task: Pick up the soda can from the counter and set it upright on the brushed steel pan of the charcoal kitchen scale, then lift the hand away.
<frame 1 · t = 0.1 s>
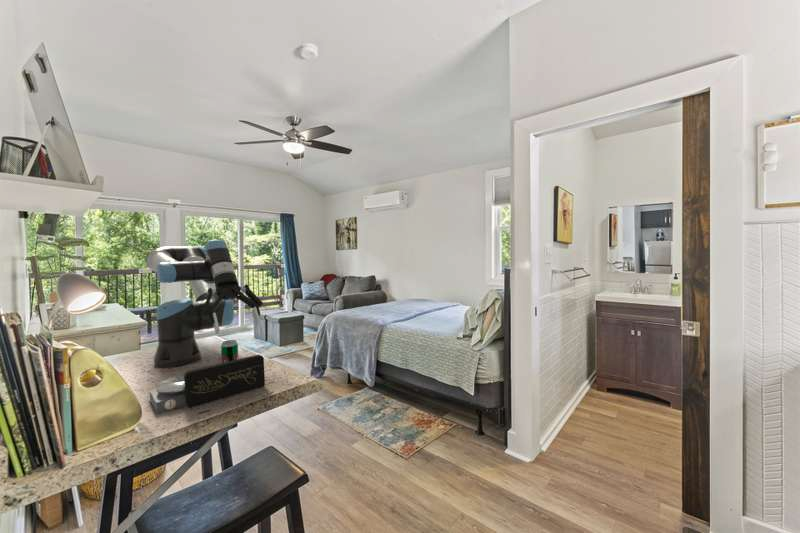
hand: (239, 328, 118), 15 cm above the counter, tool tilted 35°, fingers open, 13 cm apart
scale base: (180, 398, 98), on the counter
soda can: (231, 377, 114), on the counter
scale pan: (179, 384, 98), point 4 cm above the counter, slide at -0.5 cm
nameplate: (228, 396, 100), on the counter
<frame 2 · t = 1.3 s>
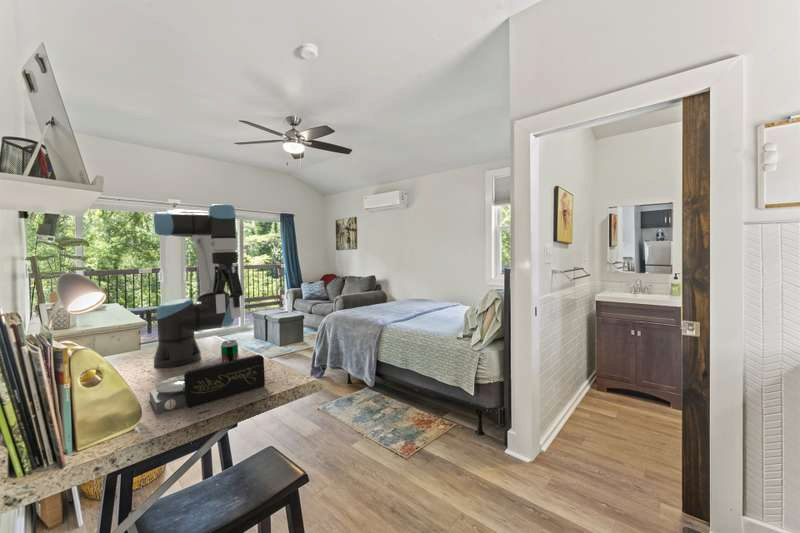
hand: (228, 315, 113), 21 cm above the counter, tool pointing down, fingers open, 13 cm apart
nothing on the counter moved.
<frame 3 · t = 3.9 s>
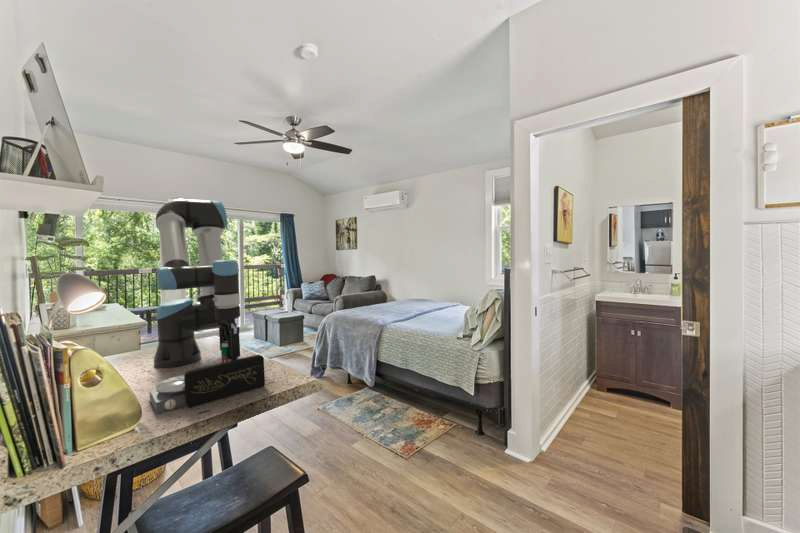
hand: (231, 374, 114), 1 cm above the counter, tool pointing down, fingers closed on soda can, 5 cm apart
soda can: (231, 377, 114), on the counter, touching gripper
everything else where it was.
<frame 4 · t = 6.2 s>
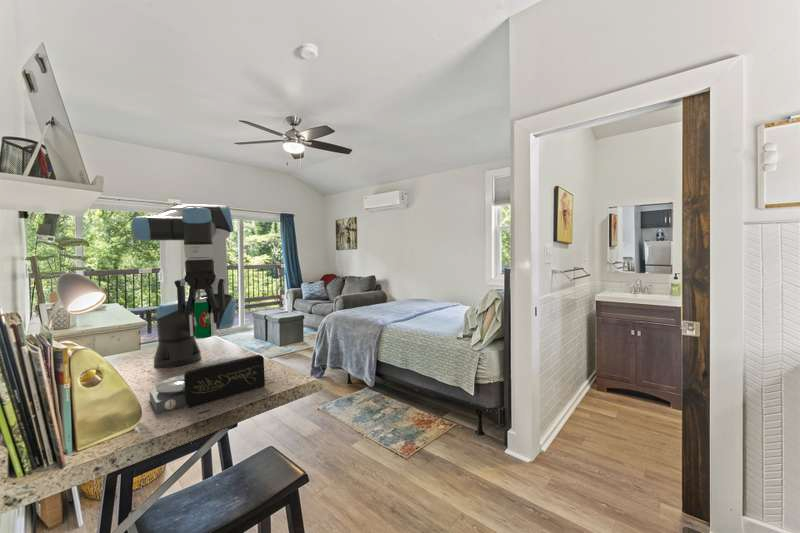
hand: (203, 334, 104), 17 cm above the counter, tool pointing down, fingers closed on soda can, 5 cm apart
soda can: (204, 337, 104), point 16 cm above the counter, touching gripper
everything else where it was.
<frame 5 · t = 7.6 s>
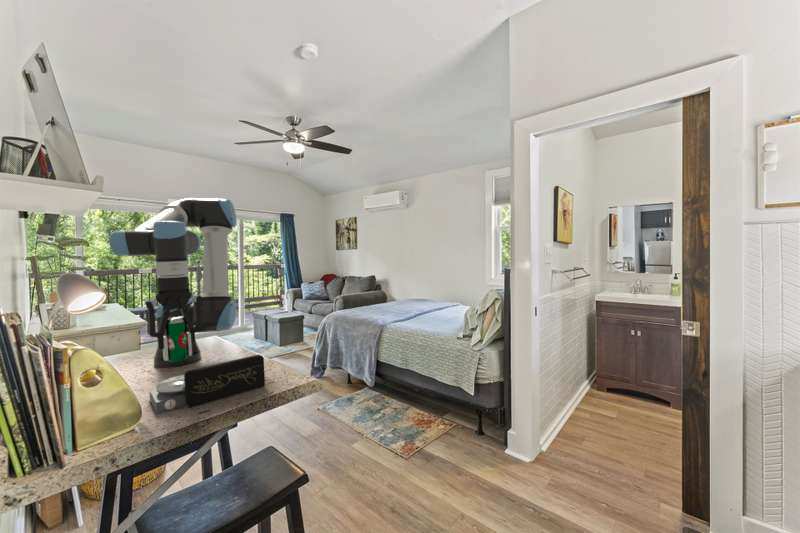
hand: (177, 356, 97), 13 cm above the counter, tool pointing down, fingers closed on soda can, 5 cm apart
soda can: (178, 360, 97), point 12 cm above the counter, touching gripper
everything else where it was.
when the fingers open (8 cm above the counter, at t = 8.7 s): soda can drops 2 cm, resting on scale pan.
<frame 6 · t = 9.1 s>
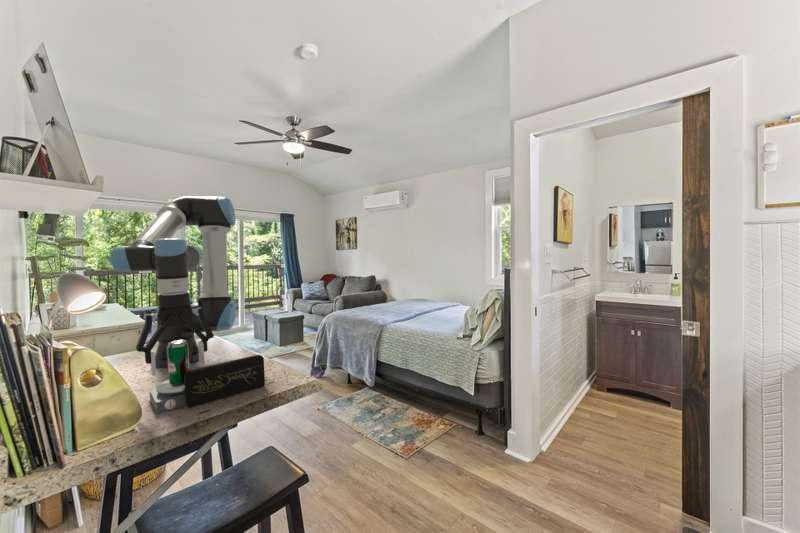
hand: (178, 368, 98), 9 cm above the counter, tool pointing down, fingers open, 11 cm apart
soda can: (179, 383, 98), point 5 cm above the counter, touching scale pan
scale pan: (179, 385, 98), point 4 cm above the counter, slide at -0.8 cm, touching soda can
everything else where it was.
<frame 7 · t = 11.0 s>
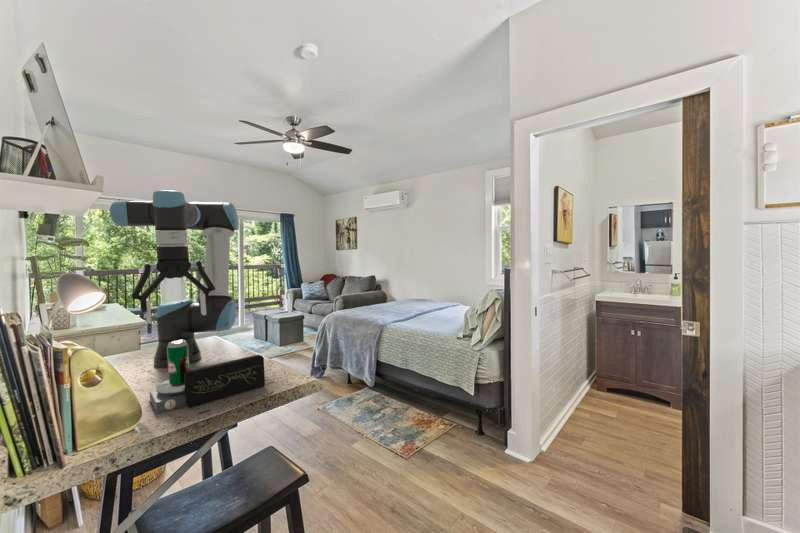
hand: (177, 318, 99), 23 cm above the counter, tool pointing down, fingers open, 13 cm apart
nothing on the counter moved.
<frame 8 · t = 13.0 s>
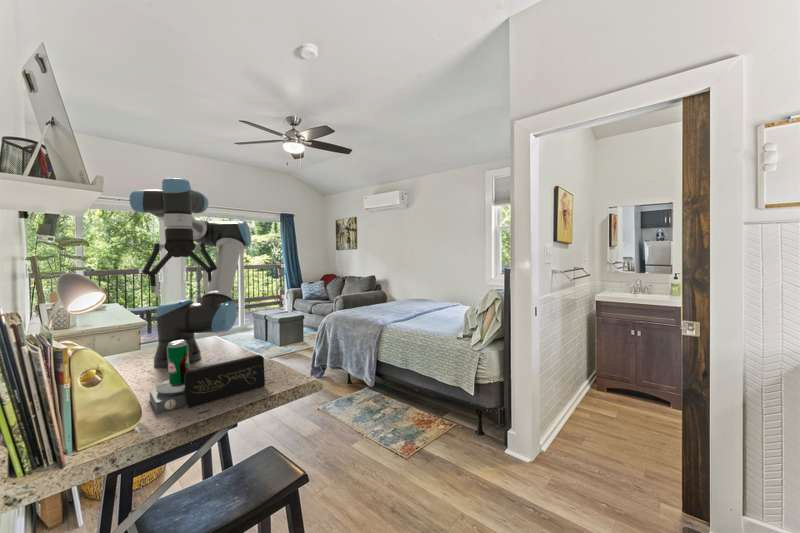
hand: (183, 294, 110), 29 cm above the counter, tool pointing down, fingers open, 13 cm apart
nothing on the counter moved.
at the end: soda can 0.0 cm off-centre on the scale base, point 4.6 cm above the scale base's base; soda can tilted 0°; soda can touching scale pan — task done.
